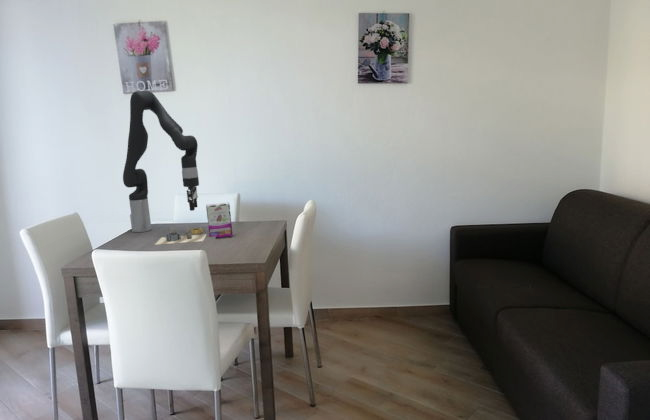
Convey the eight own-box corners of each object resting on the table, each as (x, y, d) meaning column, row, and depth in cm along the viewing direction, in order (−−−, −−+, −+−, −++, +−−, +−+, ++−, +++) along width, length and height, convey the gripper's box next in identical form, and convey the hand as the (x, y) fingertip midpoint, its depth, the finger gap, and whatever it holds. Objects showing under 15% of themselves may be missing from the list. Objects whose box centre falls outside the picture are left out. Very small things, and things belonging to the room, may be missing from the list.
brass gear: (188, 237, 232) (188, 231, 231) (191, 234, 238) (190, 228, 238) (202, 236, 232) (201, 230, 232) (203, 233, 239) (203, 227, 238)
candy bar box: (232, 234, 233) (229, 202, 229) (232, 236, 228) (229, 203, 225) (209, 237, 230) (205, 204, 227) (209, 239, 225) (206, 205, 222)
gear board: (154, 247, 215) (152, 232, 214) (161, 239, 229) (160, 225, 227) (203, 243, 217) (201, 228, 216) (207, 236, 231) (205, 222, 230)
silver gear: (165, 241, 219) (164, 235, 218) (168, 238, 225) (167, 232, 225) (179, 240, 220) (178, 234, 219) (181, 237, 226) (181, 231, 225)
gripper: (185, 175, 236) (188, 207, 239) (179, 178, 222) (183, 212, 225) (200, 174, 237) (203, 205, 240) (195, 177, 223) (199, 210, 226)
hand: (193, 208), depth 233 cm, fingers open, 8 cm apart
